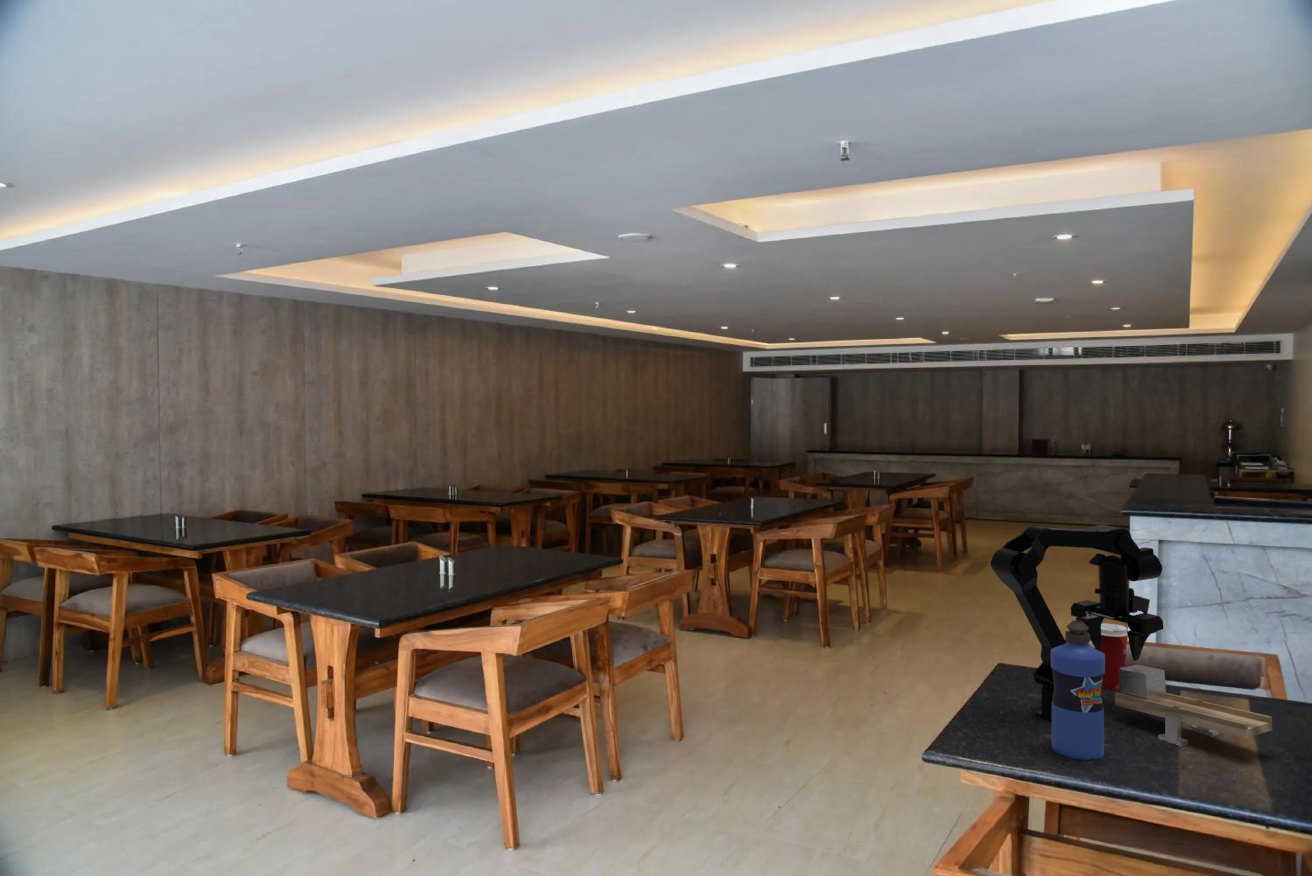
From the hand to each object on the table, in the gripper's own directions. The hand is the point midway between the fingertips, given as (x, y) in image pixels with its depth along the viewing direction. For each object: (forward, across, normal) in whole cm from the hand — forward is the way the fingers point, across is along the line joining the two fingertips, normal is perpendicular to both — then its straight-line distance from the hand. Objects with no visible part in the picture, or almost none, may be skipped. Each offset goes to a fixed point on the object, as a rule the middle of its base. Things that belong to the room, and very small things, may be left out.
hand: (1116, 655), depth 188 cm
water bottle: (+11, -13, +27) cm, 31 cm away
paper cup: (+13, +12, -12) cm, 21 cm away
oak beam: (+8, -17, +1) cm, 19 cm away
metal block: (+7, -7, +2) cm, 10 cm away
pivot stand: (+12, -17, +1) cm, 21 cm away
